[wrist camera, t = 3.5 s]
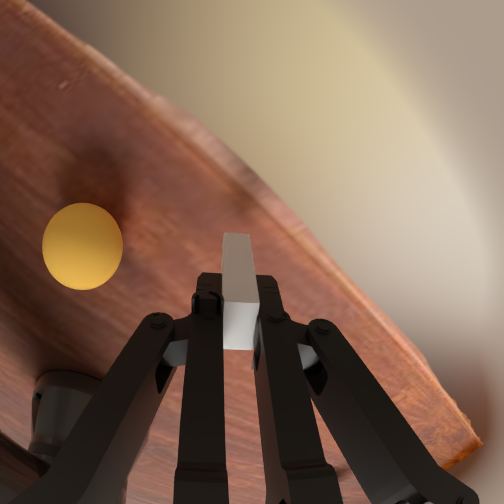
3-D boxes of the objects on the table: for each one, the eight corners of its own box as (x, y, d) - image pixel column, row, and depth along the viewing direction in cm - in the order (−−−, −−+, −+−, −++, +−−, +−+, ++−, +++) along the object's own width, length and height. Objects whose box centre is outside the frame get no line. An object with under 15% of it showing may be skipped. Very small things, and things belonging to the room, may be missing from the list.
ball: (134, 264, 21) (113, 312, 17) (70, 260, 21) (39, 302, 16) (130, 192, 19) (101, 225, 14) (60, 191, 18) (19, 222, 13)
